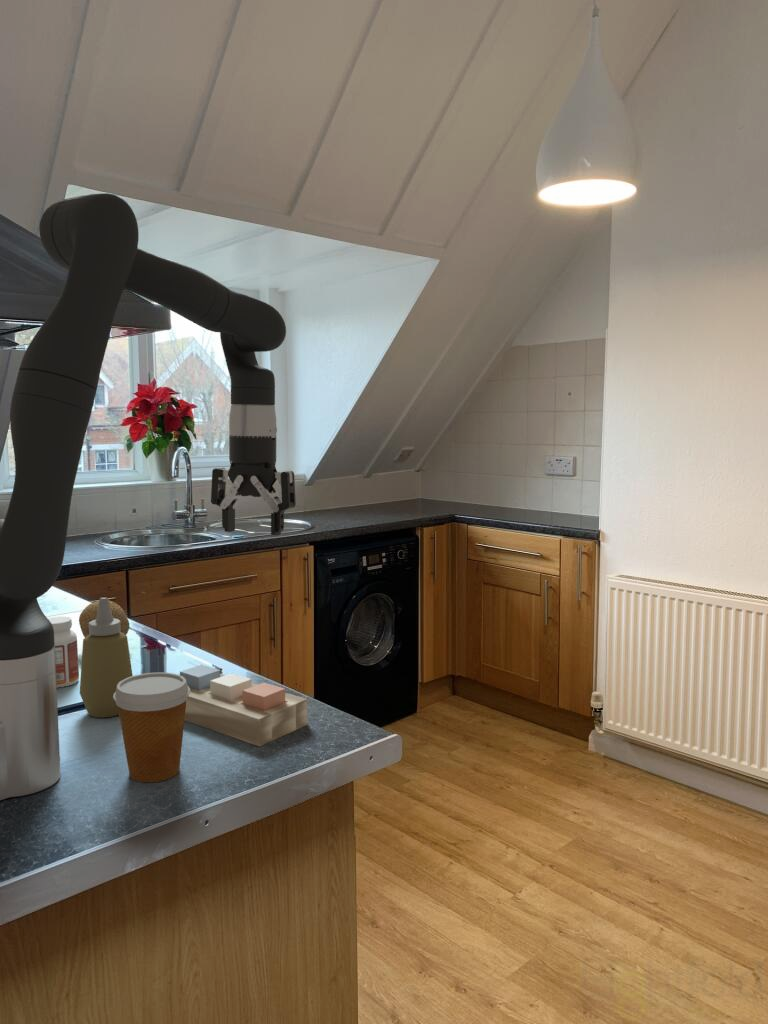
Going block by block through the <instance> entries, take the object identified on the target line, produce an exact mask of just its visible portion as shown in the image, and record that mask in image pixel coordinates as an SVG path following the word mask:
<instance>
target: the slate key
mask: <svg viewBox="0 0 768 1024" xmlns="http://www.w3.org/2000/svg"><path fill="white" fill-rule="evenodd" d="M220 674H221V669H219V668H214V667H211V666H208V665H205V664H199V665H196V666H193V667H189V668H187V669H183V670H179V675H181V676H183V677H184V678H185V679H186V682H187V686H189V688H192V689H195V690H198V691H199V690H202V689H205V688H208V687H210V681H211V680H214V679H217V678H219V677H220Z"/></svg>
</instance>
